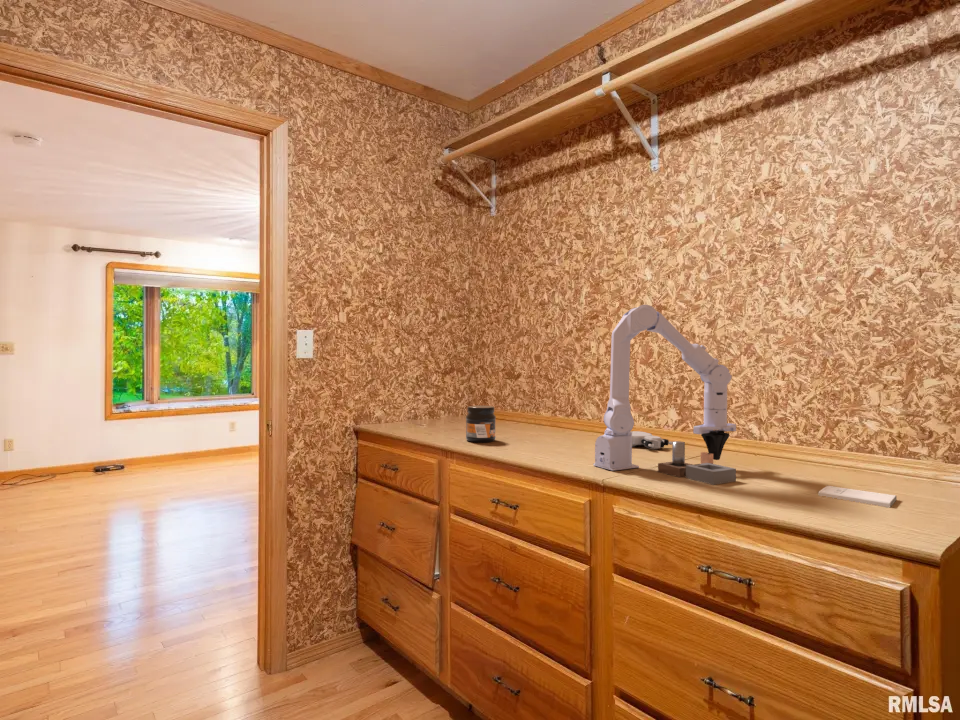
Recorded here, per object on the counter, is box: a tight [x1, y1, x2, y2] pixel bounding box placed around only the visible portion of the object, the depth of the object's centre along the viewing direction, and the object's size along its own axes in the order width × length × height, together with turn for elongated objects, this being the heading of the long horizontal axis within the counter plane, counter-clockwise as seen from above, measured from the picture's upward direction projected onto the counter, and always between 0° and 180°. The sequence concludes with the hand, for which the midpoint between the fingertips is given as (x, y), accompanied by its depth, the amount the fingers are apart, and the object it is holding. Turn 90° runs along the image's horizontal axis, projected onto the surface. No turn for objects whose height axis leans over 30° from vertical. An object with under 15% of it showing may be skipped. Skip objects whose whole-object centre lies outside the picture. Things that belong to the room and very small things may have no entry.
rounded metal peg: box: [671, 440, 686, 467], centre depth 136 cm, size 3×3×8 cm
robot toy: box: [630, 430, 673, 450], centre depth 176 cm, size 12×4×15 cm
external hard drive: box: [818, 485, 898, 508], centre depth 114 cm, size 2×8×12 cm
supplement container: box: [465, 405, 497, 444], centre depth 187 cm, size 10×10×12 cm
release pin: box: [700, 451, 714, 464], centre depth 140 cm, size 6×3×4 cm, turn 118°
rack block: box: [685, 463, 737, 486], centre depth 130 cm, size 8×8×3 cm
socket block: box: [657, 461, 694, 478], centre depth 137 cm, size 7×7×2 cm
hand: (714, 459), depth 143 cm, fingers closed
